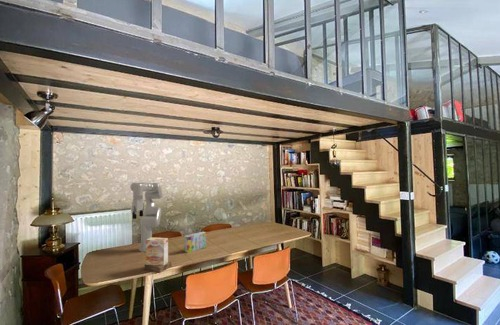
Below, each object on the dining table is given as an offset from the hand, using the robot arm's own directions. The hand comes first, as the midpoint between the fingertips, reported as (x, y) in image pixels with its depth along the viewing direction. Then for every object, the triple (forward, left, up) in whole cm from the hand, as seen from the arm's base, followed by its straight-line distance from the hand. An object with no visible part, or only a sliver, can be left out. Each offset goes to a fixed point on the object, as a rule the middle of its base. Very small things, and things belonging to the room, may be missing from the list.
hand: (137, 217), depth 206 cm
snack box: (-30, +41, -37) cm, 62 cm away
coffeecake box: (+14, +26, -33) cm, 44 cm away
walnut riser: (+14, +26, -37) cm, 47 cm away
